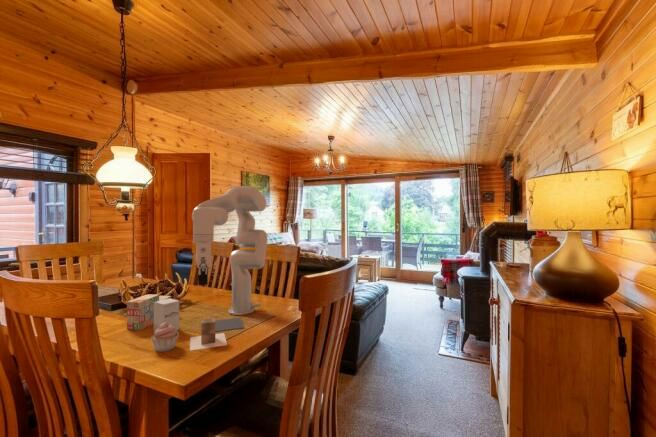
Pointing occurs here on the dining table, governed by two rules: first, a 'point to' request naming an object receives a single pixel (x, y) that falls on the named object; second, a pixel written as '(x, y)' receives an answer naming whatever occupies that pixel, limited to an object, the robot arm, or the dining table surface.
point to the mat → (228, 324)
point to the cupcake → (165, 337)
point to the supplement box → (166, 313)
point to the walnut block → (207, 331)
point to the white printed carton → (142, 311)
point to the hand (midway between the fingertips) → (203, 282)
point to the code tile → (219, 341)
